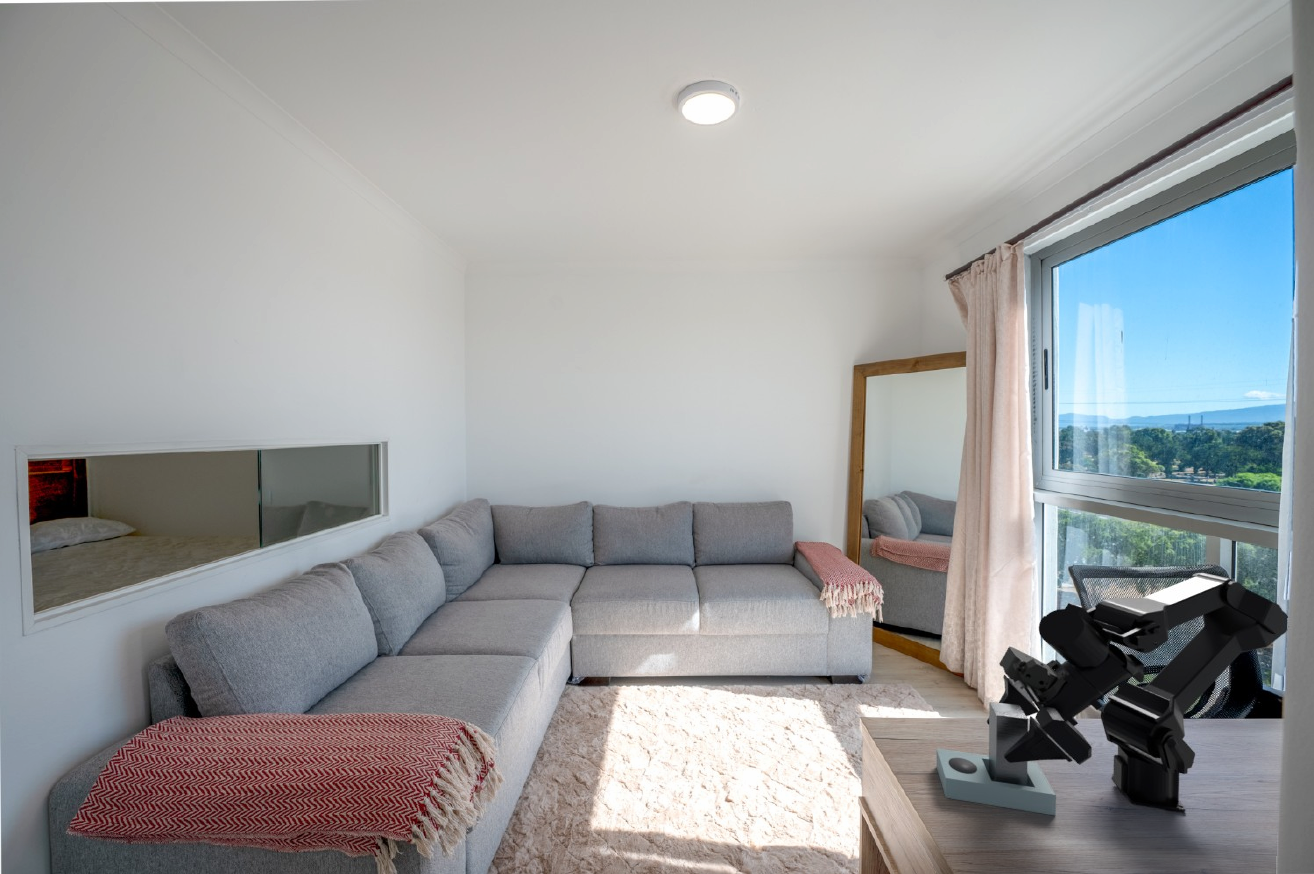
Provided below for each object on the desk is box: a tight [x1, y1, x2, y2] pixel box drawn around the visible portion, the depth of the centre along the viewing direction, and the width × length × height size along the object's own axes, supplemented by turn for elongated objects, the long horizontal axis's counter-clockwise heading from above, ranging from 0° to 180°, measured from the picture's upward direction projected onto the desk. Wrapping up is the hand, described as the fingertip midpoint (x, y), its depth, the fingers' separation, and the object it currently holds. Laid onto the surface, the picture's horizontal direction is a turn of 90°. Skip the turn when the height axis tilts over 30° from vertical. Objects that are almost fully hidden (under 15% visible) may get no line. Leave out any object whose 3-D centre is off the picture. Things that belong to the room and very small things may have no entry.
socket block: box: [936, 748, 1057, 817], centre depth 86 cm, size 14×8×3 cm, turn 73°
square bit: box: [988, 701, 1029, 786], centre depth 85 cm, size 4×4×12 cm
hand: (997, 741), depth 85 cm, fingers open, 9 cm apart
